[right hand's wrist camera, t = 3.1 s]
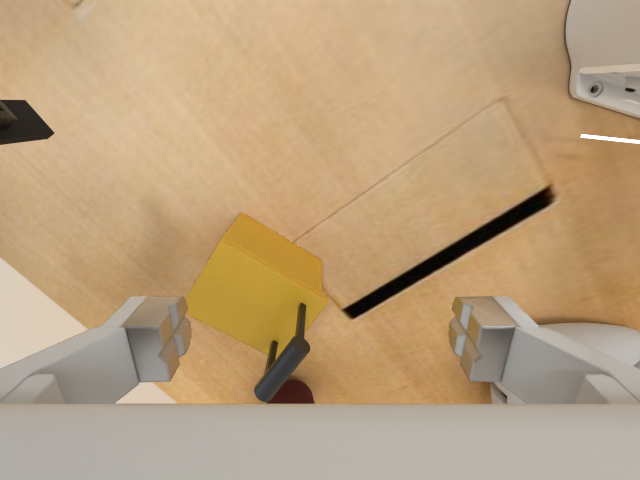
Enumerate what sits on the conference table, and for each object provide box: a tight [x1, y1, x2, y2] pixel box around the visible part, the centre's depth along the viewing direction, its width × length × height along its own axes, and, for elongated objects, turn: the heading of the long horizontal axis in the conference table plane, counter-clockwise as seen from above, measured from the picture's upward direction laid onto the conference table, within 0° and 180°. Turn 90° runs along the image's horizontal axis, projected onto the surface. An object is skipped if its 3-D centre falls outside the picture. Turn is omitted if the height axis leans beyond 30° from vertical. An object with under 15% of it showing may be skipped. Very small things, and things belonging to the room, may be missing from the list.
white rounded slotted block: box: [491, 323, 640, 404], centre depth 46 cm, size 22×23×15 cm
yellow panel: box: [186, 237, 328, 402], centre depth 35 cm, size 14×10×9 cm
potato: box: [267, 380, 314, 404], centre depth 52 cm, size 7×8×7 cm
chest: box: [223, 212, 322, 293], centre depth 43 cm, size 13×10×9 cm
